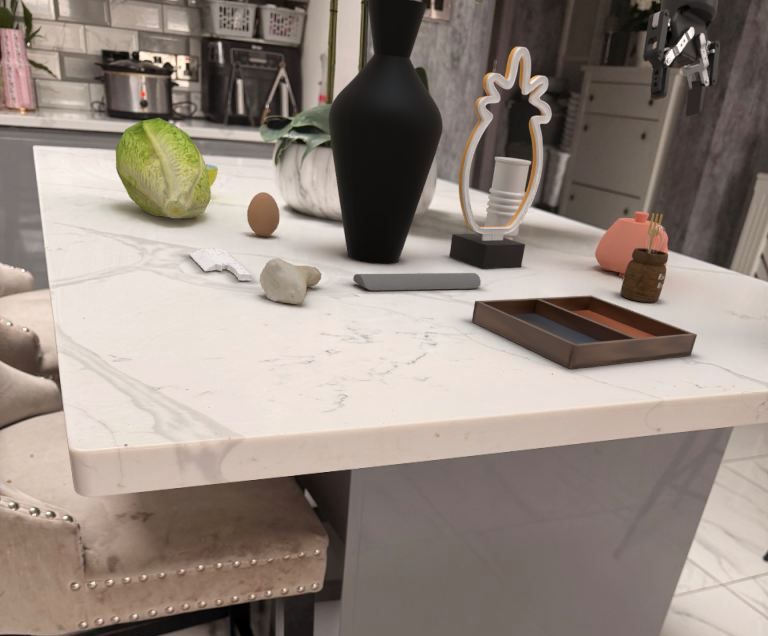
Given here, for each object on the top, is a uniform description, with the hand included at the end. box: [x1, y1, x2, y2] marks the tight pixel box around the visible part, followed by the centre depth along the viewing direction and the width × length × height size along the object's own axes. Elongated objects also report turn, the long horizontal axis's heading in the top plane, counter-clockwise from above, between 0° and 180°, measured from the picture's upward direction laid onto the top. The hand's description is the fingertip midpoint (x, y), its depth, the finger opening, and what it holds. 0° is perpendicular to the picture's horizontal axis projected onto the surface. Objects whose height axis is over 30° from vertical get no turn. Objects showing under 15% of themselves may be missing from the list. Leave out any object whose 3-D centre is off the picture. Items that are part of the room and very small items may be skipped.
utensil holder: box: [620, 212, 669, 304], centre depth 115 cm, size 6×6×12 cm
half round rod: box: [352, 272, 482, 291], centre depth 109 cm, size 4×20×2 cm, turn 118°
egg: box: [246, 191, 281, 237], centre depth 128 cm, size 5×5×7 cm
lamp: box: [449, 46, 553, 270], centre depth 123 cm, size 17×9×32 cm, turn 125°
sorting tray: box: [471, 294, 698, 370], centre depth 93 cm, size 20×18×3 cm
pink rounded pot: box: [594, 211, 669, 278], centre depth 132 cm, size 12×14×10 cm
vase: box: [328, 0, 444, 265], centre depth 115 cm, size 17×17×35 cm
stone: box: [259, 257, 322, 305], centre depth 97 cm, size 11×6×5 cm, turn 173°
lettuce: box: [115, 117, 212, 219], centre depth 134 cm, size 15×25×16 cm
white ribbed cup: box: [483, 156, 532, 241], centre depth 145 cm, size 7×7×15 cm
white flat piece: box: [188, 247, 252, 281], centre depth 106 cm, size 5×15×1 cm, turn 24°
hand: (676, 107), depth 108 cm, fingers open, 8 cm apart
